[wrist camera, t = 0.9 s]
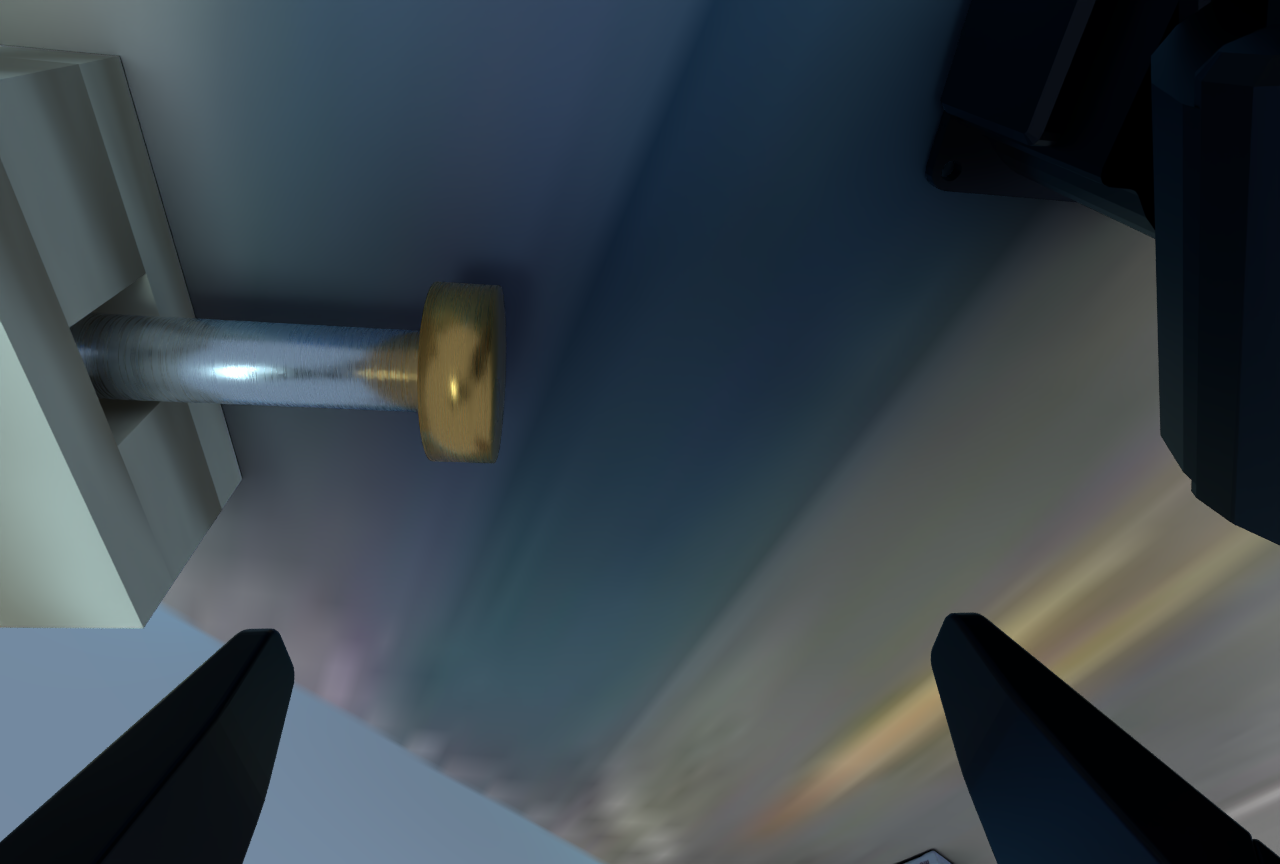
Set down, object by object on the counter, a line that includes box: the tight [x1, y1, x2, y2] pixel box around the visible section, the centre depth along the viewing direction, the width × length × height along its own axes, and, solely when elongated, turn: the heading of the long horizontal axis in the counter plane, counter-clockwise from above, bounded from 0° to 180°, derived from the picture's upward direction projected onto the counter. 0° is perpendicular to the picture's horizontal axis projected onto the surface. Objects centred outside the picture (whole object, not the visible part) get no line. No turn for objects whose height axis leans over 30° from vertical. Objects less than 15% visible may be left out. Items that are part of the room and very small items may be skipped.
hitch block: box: [0, 45, 242, 628], centre depth 16 cm, size 5×12×6 cm, turn 175°
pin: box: [69, 282, 506, 463], centre depth 16 cm, size 12×4×4 cm, turn 85°
